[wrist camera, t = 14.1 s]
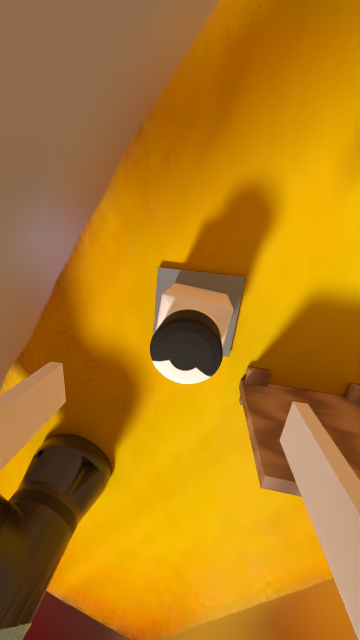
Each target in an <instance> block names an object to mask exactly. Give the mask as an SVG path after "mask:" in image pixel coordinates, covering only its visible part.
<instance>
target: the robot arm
mask: <svg viewBox="0 0 360 640" xmlns="http://www.w3.org/2000/svg"><path fill="white" fill-rule="evenodd" d="M65 402H66V396H65V384H64V373H63V363H57V362H51V361H50V362H49V363H48V364H46V365H45V366H43V367H42V368H40V369H39V370H37V371H36V372H34V373H33V374H32V375H30V376H29V377H27V378H26V379H24V380H23V381H21V382H20V383H18V384H17V385H16V386H14V387H13V388H11V389H10V390H8V391H7V392H5V393H4V394H2V395H1V396H0V470H1V469H2V468H3V467H4V466H5V465H6V464H7V463H8V462H9V461H10V460H11V459H12V458H13V457H14V456H15V455H16V454H17V453H18V452H19V451H20V449H21V448H22V447H23V446H24V445H25V444H26V443H27V442H28V441H29V440H30V439H31V438H32V437H33V436H34V435H35V434H36V433H37V432H38V431H39V430H40V429H41V427H42V426H43V425H44V424H45V423H46V422H47V421H48V420H49V419H50V418H51V417H52V416H53V415H54V414H55V413H56V412H57V411H58V410H59V409H60V408H61V406H62V405H63V404H64V403H65ZM280 443H281V445H282V448H283V450H284V453H285V455H286V458H287V460H288V463H289V466H290V468H291V471H292V473H293V476H294V478H295V481H296V483H297V486H298V488H299V491H300V493H301V496H302V498H303V501H304V504H305V506H306V509H307V511H308V514H309V516H310V519H311V521H312V524H313V526H314V529H315V531H316V534H317V536H318V539H319V542H320V544H321V547H322V549H323V552H324V554H325V557H326V559H327V562H328V564H329V567H330V569H331V572H332V575H333V577H334V580H335V582H336V584H337V587H338V590H339V592H340V595H341V597H342V600H343V602H344V605H345V607H346V610H347V613H348V615H349V617H350V620H351V623H352V625H353V628H354V630H355V633H356V635H357V638H358V640H360V480H359V479H358V477H357V476H356V474H355V473H354V471H353V470H352V468H351V467H350V465H349V464H348V462H347V461H346V459H345V458H344V456H343V455H342V454H341V452H340V451H339V449H338V448H337V446H336V445H335V443H334V442H333V440H332V439H331V437H330V436H329V434H328V433H327V431H326V430H325V429H324V427H323V426H322V424H321V423H320V421H319V420H318V418H317V417H316V415H315V414H314V412H313V411H312V409H311V408H310V406H309V405H308V404H306V403H300V402H294V401H293V402H292V405H291V408H290V411H289V414H288V417H287V420H286V423H285V426H284V429H283V432H282V435H281V437H280ZM110 476H111V467H110V464H109V461H108V459H107V458H106V456H105V455H104V454H103V452H102V451H101V450H100V449H99V448H97V447H96V446H95V445H94V444H92V443H91V442H89V441H87V440H85V439H83V438H80V437H77V436H73V435H66V434H61V435H55V436H52V437H50V438H48V439H47V440H46V441H45V442H44V443H43V444H42V445H41V447H40V448H39V449H38V450H37V451H36V453H35V455H34V457H33V459H32V461H31V463H30V465H29V467H28V469H27V471H26V473H25V475H24V477H23V479H22V481H21V483H20V485H19V487H18V489H17V491H16V492H15V493H14V494H13V496H12V497H11V498H10V499H9V501H7V500H6V499H5V498H4V497H3V496H2V495H1V494H0V640H22V639H23V637H24V635H25V633H26V632H27V631H28V629H29V628H30V626H31V621H32V619H33V617H34V615H35V613H36V610H37V608H38V606H39V604H40V602H41V600H42V598H43V596H44V594H45V592H46V590H47V588H48V585H49V583H50V581H51V579H52V577H53V575H54V573H55V571H56V569H57V567H58V564H59V562H60V560H61V558H62V556H63V554H64V552H65V550H66V548H67V546H68V544H69V541H70V539H71V537H72V535H73V533H74V531H75V529H76V527H77V525H78V523H79V522H80V520H81V519H82V518H83V517H84V515H85V514H86V513H87V512H88V510H89V509H90V508H91V507H92V505H93V504H94V503H95V502H96V500H97V499H98V498H99V497H100V495H101V494H102V493H103V491H104V490H105V488H106V485H107V483H108V481H109V479H110Z"/></svg>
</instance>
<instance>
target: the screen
mask: <svg viewBox="0 0 360 640" xmlns="http://www.w3.org/2000/svg"><path fill="white" fill-rule="evenodd" d="M270 375H271V373H270V371H269V370H267V369H261V368H254V367H247V371H246V375H245V379H241V381H240V385H239V389H240V394H241V396H240V405H243V408H244V412H245V417H246V422H247V426H248V431H249V436H250V440H251V445H252V449H253V454H254V459H255V463H256V468H257V473H258V477H259V482H260V486H261V488H264V489H269V490H273V491H278V492H283V493H287V494H292V495H296V496H301V493H300V491H299V488H298V486H297V483H296V481H295V478H294V476H293V473H292V471H291V468H290V466H289V463H288V460H287V458H286V455H285V453H284V450H283V448H282V445H281V443H280V437H281V435H282V432H283V429H284V426H285V423H286V420H287V417H288V414H289V411H290V408H291V405H292V402H293V401H294V402H300V403H306V404H308V405H309V406H310V408H311V409H312V411H313V412H314V414H315V415H316V417H317V418H318V420H319V421H320V423H321V424H322V426H323V427H324V429H325V430H326V431H327V433H328V434H329V436H330V437H331V439H332V440H333V442H334V443H335V445H336V446H337V448H338V449H339V451H340V452H341V454H342V455H343V456H344V458H345V459H346V461H347V462H348V464H349V465H350V467H351V468H352V470H353V471H354V473H355V474H356V476H357V477H358V479H359V480H360V384H354V383H350V385H349V388H348V390H347V392H346V394H345V396H340V395H334V394H328V393H322V392H316V391H310V390H304V389H298V388H292V387H286V386H280V385H274V384H268V382H269V378H270ZM301 497H302V496H301Z"/></svg>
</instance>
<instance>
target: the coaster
mask: <svg viewBox="0 0 360 640" xmlns="http://www.w3.org/2000/svg"><path fill="white" fill-rule="evenodd" d="M244 282H245V277H240V276H232V275H223V274H215V273H207V272H198V271H190V270H181V269H173V268H165V267H158V275H157V290H156V305H155V321H154V333H155V332H156V328H157V322H158V316H159V310H160V304H161V298H162V294H163V293H164V292H165V291H166V290H167V289H168V288H169V287H171V286H172V285H173V284H174V283H179V284H183V285H188V286H192V287H197V288H202V289H206V290H211V291H215V292H220V293H224V294H227V295H228V297H229V300H230V302H231V305H232V307H233V314H232V317H231V321H230V324H229V328H228V331H227V334H226V338H225V341H224V344H223V356H228V357H229V355H230V350H231V345H232V340H233V336H234V331H235V326H236V321H237V316H238V311H239V307H240V302H241V297H242V292H243V287H244Z"/></svg>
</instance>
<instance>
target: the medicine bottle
mask: <svg viewBox="0 0 360 640" xmlns="http://www.w3.org/2000/svg"><path fill="white" fill-rule="evenodd" d="M232 314H233V307H232V305H231V302H230V300H229V297H228V295H227V294H224V293H220V292H215V291H211V290H206V289H202V288H197V287H192V286H188V285H183V284H179V283H174V284H173V285H172V286H171V287H169V288H168V289H167V290H166V291H165V292H164V293H163V294H162V298H161V304H160V310H159V316H158V322H157V328H156V332H155V333H154V335H153V337H152V340H151V343H150V354H151V358H152V361H153V363H154V365H155V367H156V368H157V369H158V371H159V372H160V373H161V374H163V375H164V376H165V377H167V378H168V379H170V380H172V381H175V382H178V383H183V384H195V383H199V382H202V381H204V380H206V379H208V378H210V377H211V376H212V375H213V374H214V373H215V372H216V371H217V370H218V368H219V367H220V364H221V362H222V358H223V344H224V341H225V338H226V334H227V331H228V328H229V324H230V321H231V317H232Z"/></svg>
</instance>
